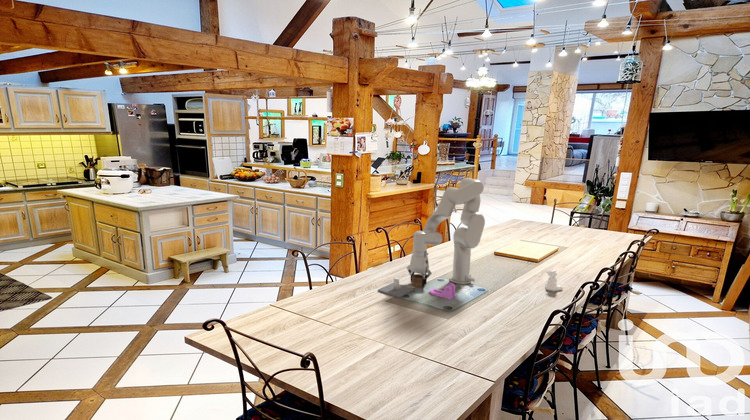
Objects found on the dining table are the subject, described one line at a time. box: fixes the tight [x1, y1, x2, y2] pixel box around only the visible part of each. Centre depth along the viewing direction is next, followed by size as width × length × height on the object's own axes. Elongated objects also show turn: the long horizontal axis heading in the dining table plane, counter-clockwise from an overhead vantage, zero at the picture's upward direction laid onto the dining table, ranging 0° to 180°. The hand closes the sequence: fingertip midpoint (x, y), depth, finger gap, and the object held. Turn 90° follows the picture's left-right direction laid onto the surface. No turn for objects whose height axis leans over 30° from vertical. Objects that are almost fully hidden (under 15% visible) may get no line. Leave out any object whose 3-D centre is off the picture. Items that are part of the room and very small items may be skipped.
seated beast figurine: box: [544, 268, 564, 292], centre depth 226 cm, size 10×9×12 cm
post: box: [377, 277, 415, 299], centre depth 220 cm, size 14×14×7 cm
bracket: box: [429, 282, 456, 300], centre depth 216 cm, size 13×6×7 cm, turn 55°
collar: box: [411, 273, 426, 288], centre depth 230 cm, size 7×7×5 cm
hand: (418, 283), depth 230 cm, fingers closed on collar, 7 cm apart
